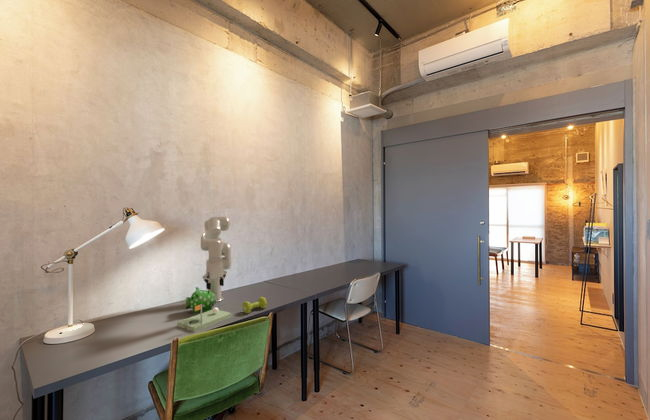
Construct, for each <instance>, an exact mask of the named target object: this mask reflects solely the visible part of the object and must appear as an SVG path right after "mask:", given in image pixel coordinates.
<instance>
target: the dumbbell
mask: <svg viewBox="0 0 650 420" xmlns="http://www.w3.org/2000/svg"><path fill="white" fill-rule="evenodd" d="M267 305H268V302H267V298H266V297H264V296H260V297H259V298H258V299H257V301H256V302H250V301H246V300H245V301H244V302H243V303H242V305H241V308H242V311H243V313H244V314H249V313H251V312H252V309H254V308H258V307H259V309H262V308H263V309H266V307H267Z"/></svg>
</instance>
